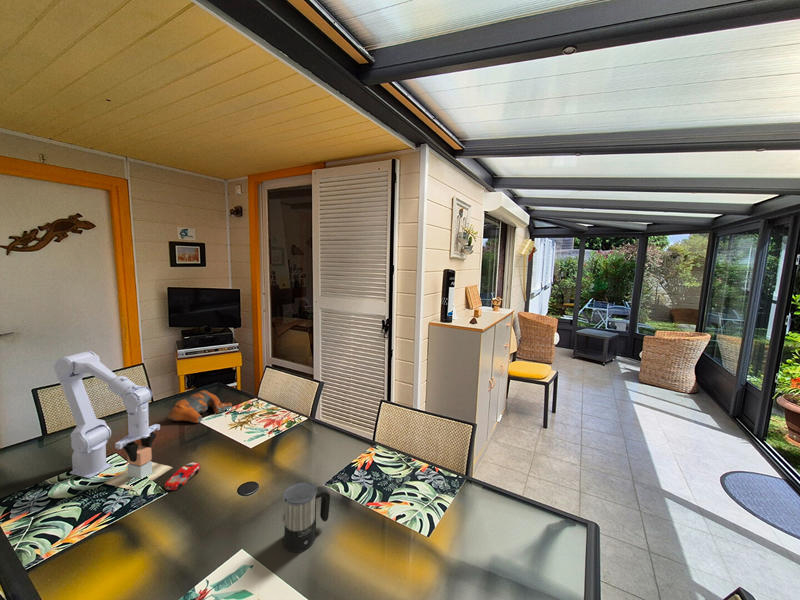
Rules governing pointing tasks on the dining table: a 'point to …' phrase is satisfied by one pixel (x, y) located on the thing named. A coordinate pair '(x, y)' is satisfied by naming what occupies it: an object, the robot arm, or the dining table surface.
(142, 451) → the terracotta block
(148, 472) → the light grey block
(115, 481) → the plate
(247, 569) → the dining table surface
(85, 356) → the robot arm
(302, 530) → the milk frother
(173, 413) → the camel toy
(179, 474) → the race car
